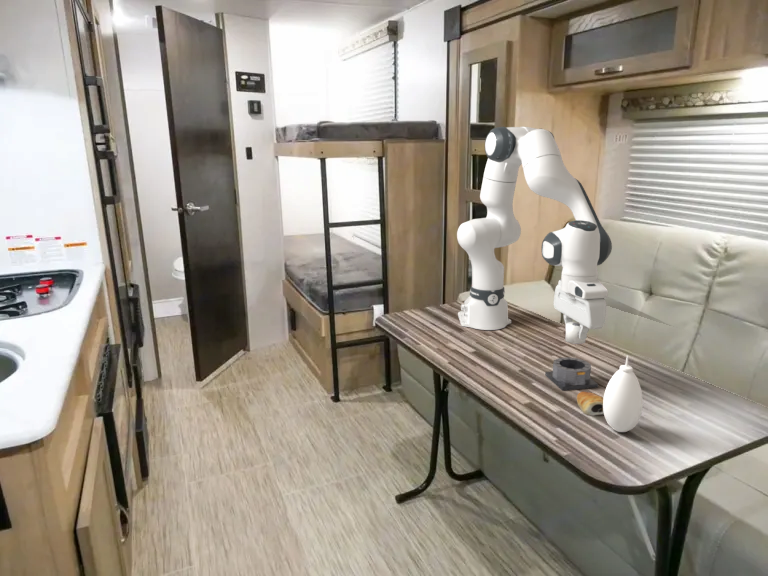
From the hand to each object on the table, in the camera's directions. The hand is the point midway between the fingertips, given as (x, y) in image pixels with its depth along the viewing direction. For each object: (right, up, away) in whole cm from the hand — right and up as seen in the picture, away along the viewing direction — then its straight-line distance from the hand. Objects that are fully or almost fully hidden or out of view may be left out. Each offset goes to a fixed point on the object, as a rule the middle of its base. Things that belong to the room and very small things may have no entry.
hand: (575, 334), depth 138 cm
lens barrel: (0, -13, +4) cm, 14 cm away
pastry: (0, -17, -11) cm, 21 cm away
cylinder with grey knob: (0, -2, 0) cm, 2 cm away
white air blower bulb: (+2, -20, -22) cm, 29 cm away
